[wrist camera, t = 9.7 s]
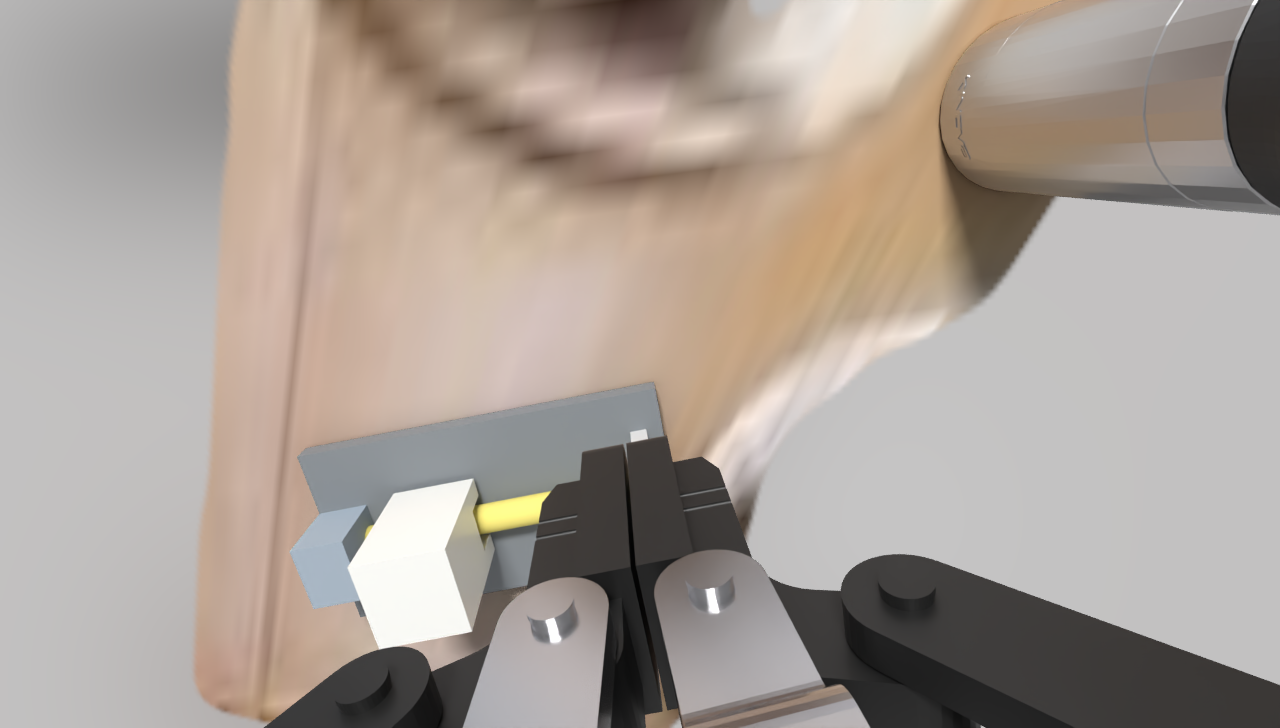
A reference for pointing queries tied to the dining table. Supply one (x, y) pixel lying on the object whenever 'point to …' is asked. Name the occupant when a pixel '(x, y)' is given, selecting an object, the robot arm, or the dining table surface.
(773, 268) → the dining table surface
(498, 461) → the linear slide rail
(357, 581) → the sleeve
